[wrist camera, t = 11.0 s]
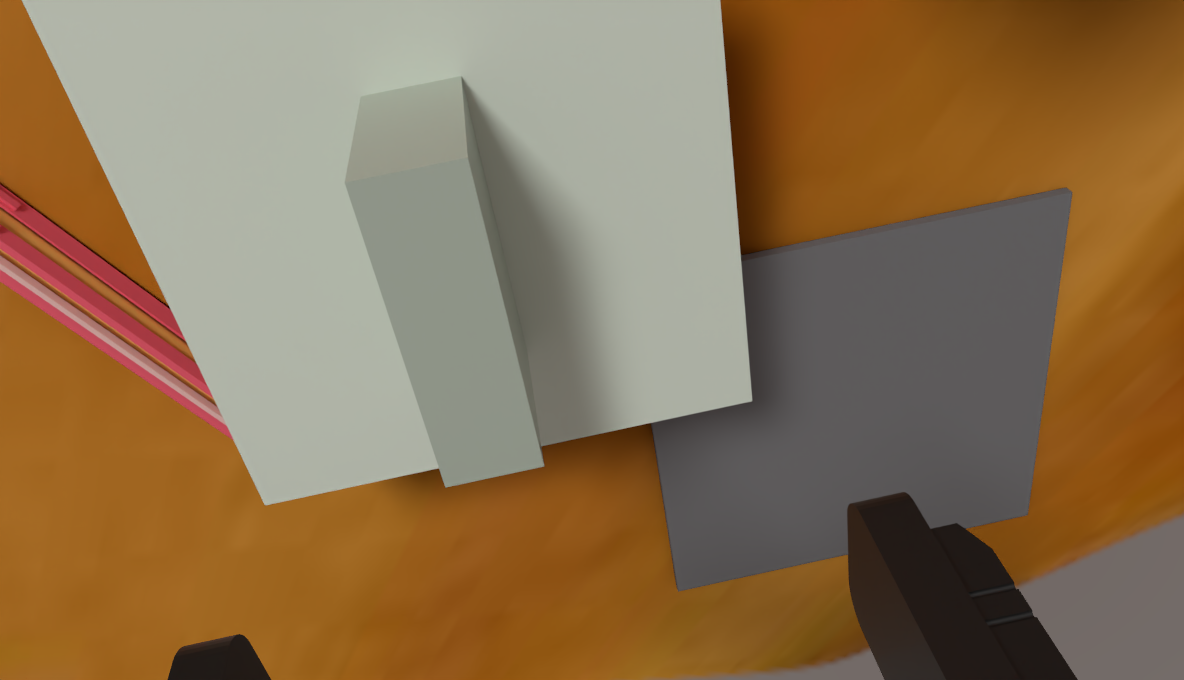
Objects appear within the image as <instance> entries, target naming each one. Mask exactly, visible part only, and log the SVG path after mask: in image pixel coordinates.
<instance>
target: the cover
mask: <svg viewBox="0 0 1184 680" xmlns="http://www.w3.org/2000/svg"><path fill="white" fill-rule="evenodd" d="M22 2H23V4H24V6H25V8H26V10H27V12H28V14H29V16H30V18H31V20H32V22H33V24H34V27H35V29H36V31H37V33H38V35H39V37H40V39H41V41H42V43H43V45H44V47H45V49H46V51H47V54H48V56H49V58H50V60H51V62H52V64H53V66H54V68H55V70H56V72H57V74H58V76H59V78H60V81H61V83H62V85H63V87H64V89H65V91H66V93H67V95H68V97H69V99H70V101H71V103H72V105H73V108H74V110H75V112H76V114H77V116H78V118H79V120H80V122H81V124H82V126H83V128H84V130H85V132H86V135H87V137H88V139H89V141H90V143H91V145H92V147H93V149H94V151H95V153H96V155H97V157H98V159H99V162H100V164H101V166H102V168H103V170H104V172H105V174H106V176H107V178H108V180H109V182H110V184H111V186H112V189H113V191H114V193H115V195H116V197H117V199H118V201H119V203H120V205H121V207H122V209H123V211H124V213H125V216H126V218H127V220H128V222H129V224H130V226H131V228H132V230H133V232H134V234H135V236H136V238H137V240H138V243H139V245H140V247H141V249H142V251H143V253H144V255H145V257H146V259H147V261H148V263H149V265H150V267H151V270H152V272H153V274H154V276H155V278H156V280H157V282H158V284H159V286H160V288H161V290H162V292H163V294H164V297H165V299H166V301H167V303H168V305H169V307H170V309H171V311H172V313H173V315H174V317H175V319H176V321H177V324H178V326H179V328H180V330H181V332H182V334H183V336H184V338H185V340H186V342H187V344H188V346H189V348H190V351H191V353H192V355H193V357H194V359H195V361H196V363H197V365H198V367H199V369H200V371H201V373H202V375H203V378H204V380H205V382H206V384H207V386H208V388H209V390H210V392H211V394H212V396H213V398H214V400H215V402H216V405H217V407H218V409H219V411H220V413H221V415H222V417H223V419H224V421H225V423H226V425H227V427H228V429H229V432H230V434H231V436H232V438H233V440H234V442H235V444H236V446H237V448H238V450H239V452H240V454H241V456H242V459H243V461H244V463H245V465H246V467H247V469H248V471H249V473H250V475H251V477H252V479H253V481H254V483H255V486H256V488H257V490H258V492H259V494H260V496H261V498H262V500H263V502H264V504H265V505H269V504H274V503H279V502H283V501H288V500H293V499H297V498H302V497H307V496H311V495H316V494H321V493H325V492H330V491H335V490H340V489H344V488H349V487H354V486H358V485H363V484H368V483H372V482H377V481H382V480H386V479H391V478H396V477H400V476H405V475H410V474H414V473H419V472H424V471H428V470H433V469H438V468H439V470H440V473H441V476H442V479H443V482H444V485H445V488H446V487H450V486H455V485H460V484H464V483H469V482H474V481H478V480H483V479H488V478H492V477H497V476H502V475H506V474H511V473H516V472H520V471H525V470H530V469H534V468H539V467H544V461H543V455H542V448H541V446H545V445H550V444H555V443H559V442H564V441H569V440H573V439H578V438H583V437H587V436H592V435H597V434H601V433H606V432H611V431H615V430H620V429H625V428H629V427H634V426H639V425H643V424H648V423H653V422H657V421H662V420H667V419H671V418H676V417H681V416H685V415H690V414H695V413H699V412H704V411H709V410H713V409H718V408H723V407H727V406H732V405H737V404H741V403H746V402H751V401H752V390H751V378H750V365H749V353H748V341H747V328H746V316H745V303H744V291H743V278H742V266H741V253H740V241H739V228H738V216H737V203H736V191H735V178H734V166H733V153H732V141H731V128H730V116H729V103H728V91H727V78H726V66H725V53H724V41H723V28H722V16H721V3H720V0H22Z"/></svg>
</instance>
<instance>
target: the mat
mask: <svg viewBox="0 0 1184 680" xmlns="http://www.w3.org/2000/svg"><path fill="white" fill-rule="evenodd" d="M1071 198H1072V192H1071V191H1070V190H1069V189H1067V188H1062V189H1057V190H1052V191H1048V192H1043V193H1038V194H1033V195H1028V196H1024V197H1019V198H1014V199H1009V200H1004V201H1000V202H995V203H990V204H985V205H980V206H976V207H971V208H966V209H961V210H956V211H952V212H947V213H942V214H937V215H932V216H928V217H923V218H918V219H913V220H908V221H904V222H899V223H894V224H889V225H884V226H880V227H875V228H870V229H865V230H860V231H856V232H851V233H846V234H841V235H836V236H832V237H827V238H822V239H817V240H812V241H808V242H803V243H798V244H793V245H788V246H784V247H779V248H774V249H769V250H764V251H760V252H755V253H750V254H745V255H741V266H742V278H743V291H744V303H745V316H746V328H747V341H748V353H749V365H750V378H751V390H752V401H751V402H746V403H741V404H737V405H732V406H727V407H723V408H718V409H713V410H709V411H704V412H699V413H695V414H690V415H685V416H681V417H676V418H671V419H667V420H662V421H657V422H653V423H651V426H652V433H653V439H654V446H655V452H656V458H657V465H658V471H659V477H660V484H661V490H662V497H663V503H664V509H665V516H666V522H667V528H668V535H669V541H670V548H671V554H672V560H673V567H674V573H675V580H676V585H677V589H678V591H682V590H687V589H691V588H696V587H700V586H705V585H710V584H714V583H719V582H723V581H728V580H732V579H737V578H742V577H746V576H751V575H755V574H760V573H764V572H769V571H774V570H778V569H783V568H787V567H792V566H797V565H801V564H806V563H810V562H815V561H819V560H824V559H829V558H833V557H838V556H842V555H847V554H848V530H847V509H848V505H849V504H850V503H855V502H859V501H864V500H869V499H873V498H878V497H882V496H887V495H892V494H896V493H901V492H906V493H907V494H909V495H910V496H911V498H912V499H913V501H914V502H915V504H916V505H917V507H918V509H919V510H920V512H921V514H922V515H923V517H924V519H925V520H926V522H927V524H928V525H929V527H930V529H932V528H936V527H941V526H946V525H950V524H955V523H958V524H959V525H960V526H962V527H963V528H965V529H966V528H971V527H975V526H980V525H984V524H989V523H993V522H998V521H1003V520H1007V519H1012V518H1016V517H1021V516H1025V515H1028V508H1029V501H1030V494H1031V487H1032V480H1033V472H1034V465H1035V458H1036V451H1037V444H1038V436H1039V429H1040V422H1041V415H1042V407H1043V400H1044V393H1045V386H1046V379H1047V371H1048V364H1049V357H1050V350H1051V343H1052V335H1053V328H1054V321H1055V314H1056V307H1057V299H1058V292H1059V285H1060V278H1061V271H1062V263H1063V256H1064V249H1065V242H1066V234H1067V227H1068V220H1069V213H1070V206H1071Z"/></svg>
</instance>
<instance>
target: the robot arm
mask: <svg viewBox="0 0 1184 680" xmlns="http://www.w3.org/2000/svg"><path fill="white" fill-rule="evenodd" d="M847 530H848V566H849V585H850V592H851V597H852V601H853V605H854V609H855V612H856V615H857V618H858V621H859V624H860V626H861V629H862V631H863V633H864V635H865V638H866V640H867V642H868V644H869V646H870V649H871V651H872V653H873V655H874V657H875V659H876V662H877V664H878V666H879V668H880V670H881V673H882V675H883V677H884V679H885V680H1077V678H1076V677H1075V675H1074V673H1073V672H1072V670H1071V669H1070V667H1069V666H1068V664H1067V663H1066V661H1065V660H1064V658H1063V657H1062V655H1061V654H1060V652H1059V651H1058V649H1057V648H1056V646H1055V644H1054V643H1053V641H1052V640H1051V638H1050V637H1049V635H1048V634H1047V632H1046V631H1045V629H1044V628H1043V626H1042V625H1041V623H1040V622H1039V620H1038V618H1037V617H1034V616H1033V613H1032V609H1031V608H1030V606H1029V605H1028V603H1027V602H1026V600H1025V599H1024V597H1023V595H1022V594H1021V592H1020V591H1019V589H1017V590H1016V588H1015V586H1014V582H1013V580H1012V579H1011V577H1010V576H1009V574H1008V573H1007V571H1006V569H1005V568H1004V566H1003V565H1002V563H1001V562H1000V560H999V559H998V557H997V556H996V554H995V553H994V551H993V550H992V548H990V547H989V546H987V545H986V544H985V543H983V542H982V541H981V540H979V539H978V538H977V537H975V536H974V535H973V534H971V533H970V532H969V531H967V530H966V529H965V528H963V527H962V526H960V525H959V524H958V523H955V524H950V525H946V526H941V527H936V528H932V529H930V527H929V525H928V524H927V522H926V520H925V519H924V517H923V515H922V514H921V512H920V510H919V509H918V507H917V505H916V504H915V502H914V501H913V499H912V498H911V496H910V495H909V494H907V493H906V492H901V493H896V494H892V495H887V496H882V497H878V498H873V499H869V500H864V501H859V502H855V503H850V504H849V505H848V509H847ZM168 680H271V679H270V677H269V675H268V673H267V672H266V670H265V668H264V666H263V665H262V663H261V661H260V659H259V658H258V656H257V654H256V652H255V651H254V649H253V647H252V646H251V644H250V642H249V641H248V639H247V638H246V637H245V636H243V635H240V634H238V635H234V636H229V637H224V638H220V639H215V640H211V641H206V642H201V643H197V644H192V645H188V646H184V647H182V648H180V649H179V650H178V652H177V653H176V655H175V657H174V660H173V663H172V666H171V670H170V673H169V677H168Z"/></svg>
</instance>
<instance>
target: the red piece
mask: <svg viewBox="0 0 1184 680" xmlns="http://www.w3.org/2000/svg"><path fill="white" fill-rule="evenodd" d="M0 282H2V283H3V284H5V285H6V286H8V287H9V288H11V289H12V290H14V291H15V292H17V293H18V294H20V295H21V296H22V297H24V298H25V299H27V300H28V301H30V302H31V303H33V304H34V305H36V306H37V307H39V308H40V309H42V310H43V311H45V312H46V313H47V314H49V315H50V316H52V317H53V318H55V319H56V320H58V321H59V322H61V323H62V324H64V325H65V326H67V327H68V328H69V329H71V330H72V331H74V332H75V333H77V334H78V335H80V336H81V337H83V338H84V339H86V340H87V341H89V342H90V343H91V344H93V345H94V346H96V347H97V348H99V349H100V350H102V351H103V352H105V353H106V354H108V355H109V356H111V357H112V358H114V359H115V360H116V361H118V362H119V363H121V364H122V365H124V366H125V367H127V368H128V369H130V370H131V371H133V372H134V373H136V374H137V375H138V376H140V377H141V378H143V379H144V380H146V381H147V382H149V383H150V384H152V385H153V386H155V387H156V388H158V389H159V390H161V391H162V392H163V393H165V394H166V395H168V396H169V397H171V398H172V399H174V400H175V401H177V402H178V403H180V404H181V405H183V406H184V407H185V408H187V409H188V410H190V411H191V412H193V413H194V414H196V415H197V416H199V417H200V418H202V419H203V420H205V421H206V422H207V423H209V424H210V425H212V426H213V427H215V428H216V429H218V430H219V431H221V432H222V433H224V434H225V435H227V436H228V437H230V438H231V439H232V440H233V438H232V436H231V434H230V432H229V429H228V427H227V425H226V423H225V421H224V419H223V417H222V415H221V413H220V411H219V409H218V407H217V405H216V402H215V400H214V398H213V396H212V394H211V392H210V390H209V388H208V386H207V384H206V382H205V380H204V378H203V375H202V373H201V371H200V369H199V367H198V365H197V363H196V361H195V359H194V357H193V355H192V353H191V351H190V348H189V346H188V344H187V342H186V340H185V338H184V336H183V334H182V332H181V330H180V328H179V326H178V324H177V321H176V319H175V317H174V315H173V313H172V311H171V310H170V309H169V308H168V307H166V306H165V305H164V304H162V303H161V302H159V301H158V300H157V299H155V298H154V297H153V296H151V295H150V294H149V293H147V292H146V291H144V290H143V289H142V288H140V287H139V286H138V285H136V284H135V283H134V282H132V281H131V280H129V279H128V278H127V277H125V276H124V275H123V274H121V273H120V272H119V271H117V270H116V269H115V268H113V267H112V266H110V265H109V264H108V263H106V262H105V261H104V260H102V259H101V258H100V257H98V256H97V255H95V254H94V253H93V252H91V251H90V250H89V249H87V248H86V247H85V246H83V245H82V244H81V243H79V242H78V241H76V240H75V239H74V238H72V237H71V236H70V235H68V234H67V233H66V232H64V231H63V230H61V229H60V228H59V227H57V226H56V225H55V224H53V223H52V222H51V221H49V220H48V219H47V218H45V217H44V216H42V215H41V214H40V213H38V212H37V211H36V210H34V209H33V208H32V207H30V206H29V205H27V204H26V203H25V202H23V201H22V200H21V199H19V198H18V197H17V196H15V195H14V194H12V193H11V192H10V191H8V190H7V189H6V188H4V187H3V186H2V185H0Z"/></svg>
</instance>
